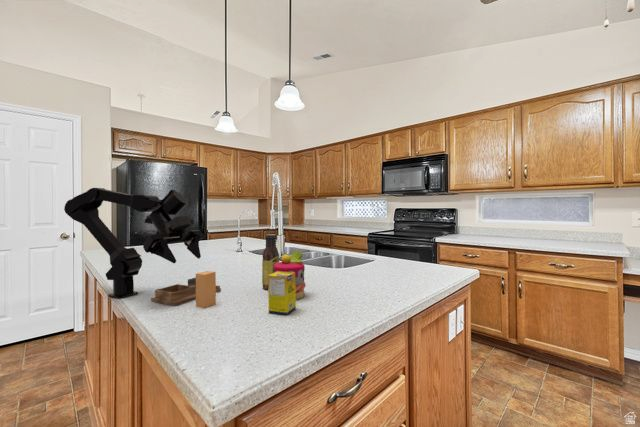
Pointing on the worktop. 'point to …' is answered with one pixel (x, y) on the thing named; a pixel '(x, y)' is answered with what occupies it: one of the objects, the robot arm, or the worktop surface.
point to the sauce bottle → (269, 258)
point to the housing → (178, 293)
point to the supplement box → (281, 292)
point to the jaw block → (205, 289)
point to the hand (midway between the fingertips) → (188, 260)
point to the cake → (296, 266)
